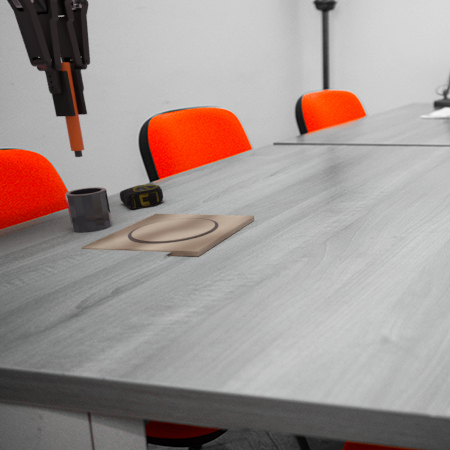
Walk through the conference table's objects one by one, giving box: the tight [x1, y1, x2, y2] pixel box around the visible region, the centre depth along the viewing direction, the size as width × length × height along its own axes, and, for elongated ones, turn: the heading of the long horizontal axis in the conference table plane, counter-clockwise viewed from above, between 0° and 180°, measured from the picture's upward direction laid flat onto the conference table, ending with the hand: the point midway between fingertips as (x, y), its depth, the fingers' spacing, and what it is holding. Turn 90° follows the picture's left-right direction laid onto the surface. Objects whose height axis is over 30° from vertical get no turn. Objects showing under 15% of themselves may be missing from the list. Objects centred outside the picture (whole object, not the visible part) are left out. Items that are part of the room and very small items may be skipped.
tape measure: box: [119, 183, 164, 210], centre depth 105 cm, size 7×7×4 cm
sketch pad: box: [81, 213, 255, 258], centre depth 88 cm, size 18×18×1 cm
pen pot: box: [64, 186, 113, 234], centre depth 91 cm, size 6×6×6 cm
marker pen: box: [60, 61, 85, 158], centre depth 86 cm, size 2×2×14 cm
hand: (71, 115), depth 86 cm, fingers closed on marker pen, 2 cm apart
